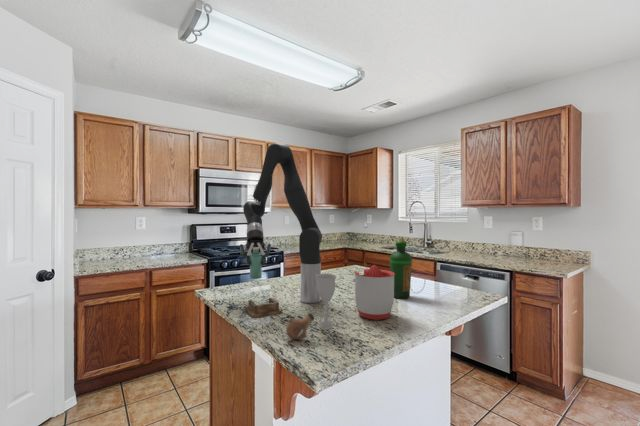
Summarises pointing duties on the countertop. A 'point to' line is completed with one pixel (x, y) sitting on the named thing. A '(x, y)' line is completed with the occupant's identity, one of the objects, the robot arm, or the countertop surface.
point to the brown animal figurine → (298, 327)
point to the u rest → (263, 308)
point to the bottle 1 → (255, 264)
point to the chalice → (326, 295)
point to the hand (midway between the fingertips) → (256, 264)
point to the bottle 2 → (401, 270)
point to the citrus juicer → (374, 293)
